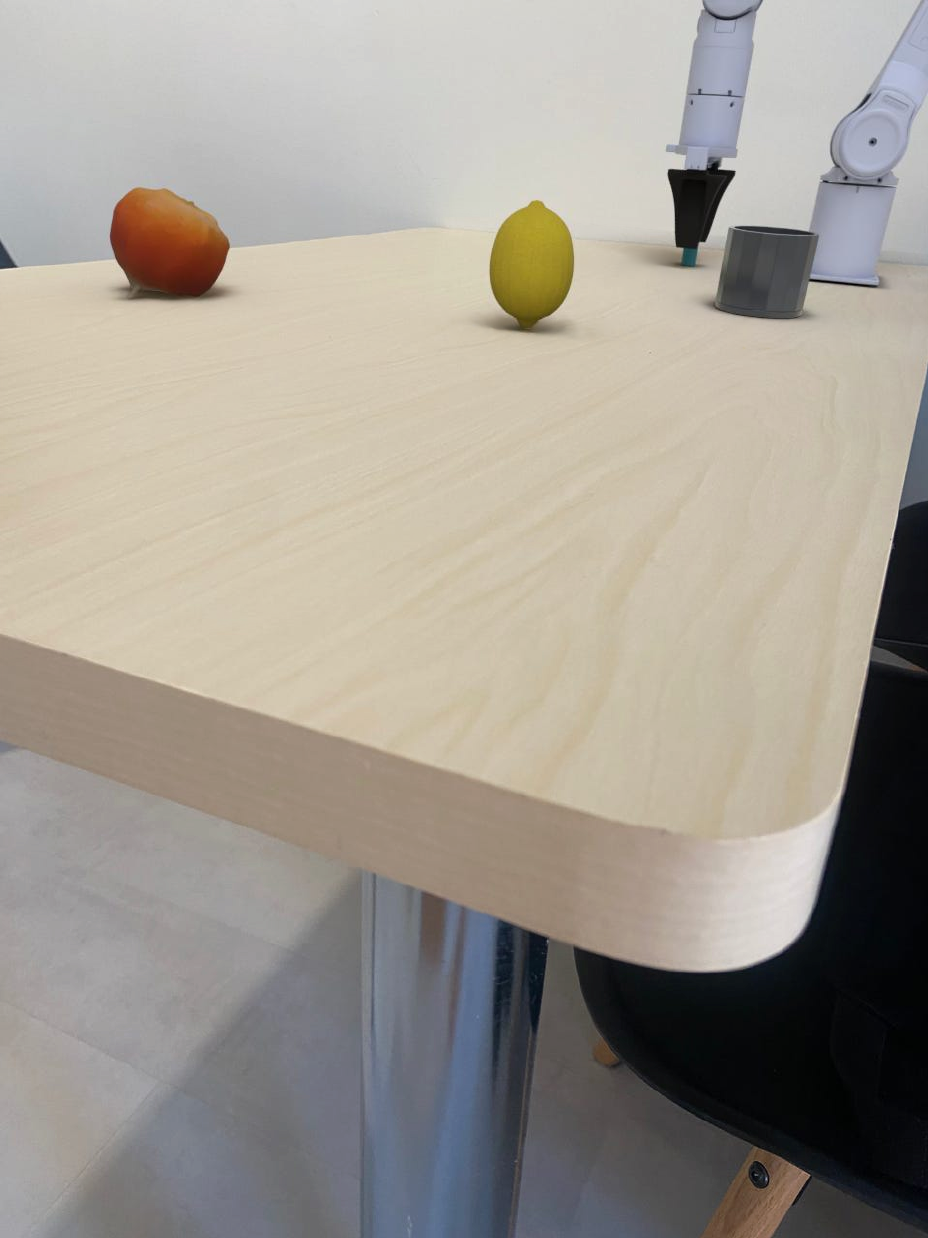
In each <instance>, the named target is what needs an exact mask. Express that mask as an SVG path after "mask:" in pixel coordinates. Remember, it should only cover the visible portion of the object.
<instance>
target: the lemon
mask: <svg viewBox="0 0 928 1238" xmlns="http://www.w3.org/2000/svg"><path fill="white" fill-rule="evenodd" d="M574 271H575V250H574V243H573V239H572V234H571V232H570V230H569V227H568V226H567V224H566V222H565V221H564V220H563V219H562V217H561V216H559V215H558V213H556V212H555V211H553V210H552V209H549V208H548V207H547V206H546V205H545V203H544V202H543V201H542V200H538V199H536V200H531V201H530V202H529V203H528V205H527V206H524V207H522V208H520V209H518V210H516V211H514V212H512V213H511V214H510V215H509V216H508V217H507V218H506V219H505V220H504V221H503V222H502V224H501V225H500V227H499V228H498V231H497V232H496V235H495V238H494V240H493V245H492V248H491V253H490V258H489V283H490V288H491V292H492V294H493V297H494V299H495V301H496V303H497V304H498V305H499V307H500V308H501V309H502V310H503V311H504V312H505V313H506V314H508V315H509V316H511V317H512V318H514V319H515V320H516V322H517V324H518V325H519V326H520V327H521V329H524V330H529V329H533V328H534V326H535V325H536V324H537V323H538V322H540V320H543V319H544V318H547V317H549V316H551V315H552V314H554V313H555V312H556V311H558V309H559V308H561V306H562V305H563V304H564V302H565V300H566V299H567V296H568V295H569V292H570V289H571V287H572V282H573V278H574Z"/></svg>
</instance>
